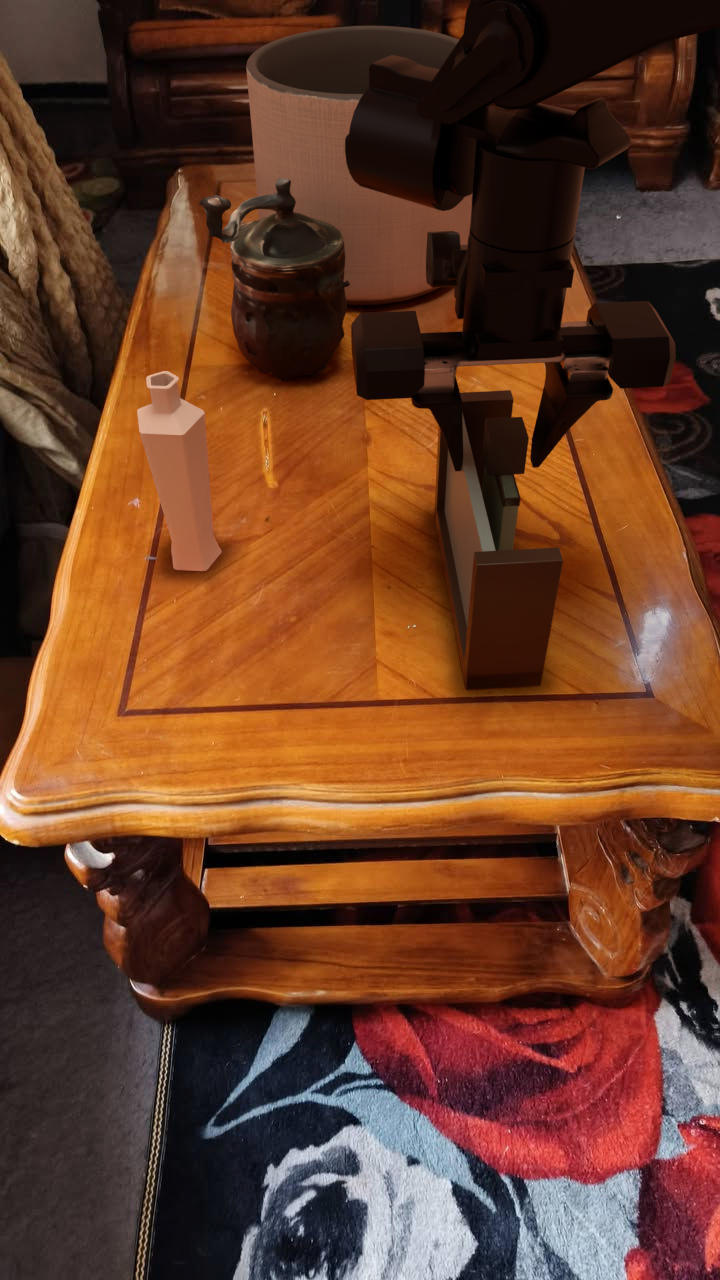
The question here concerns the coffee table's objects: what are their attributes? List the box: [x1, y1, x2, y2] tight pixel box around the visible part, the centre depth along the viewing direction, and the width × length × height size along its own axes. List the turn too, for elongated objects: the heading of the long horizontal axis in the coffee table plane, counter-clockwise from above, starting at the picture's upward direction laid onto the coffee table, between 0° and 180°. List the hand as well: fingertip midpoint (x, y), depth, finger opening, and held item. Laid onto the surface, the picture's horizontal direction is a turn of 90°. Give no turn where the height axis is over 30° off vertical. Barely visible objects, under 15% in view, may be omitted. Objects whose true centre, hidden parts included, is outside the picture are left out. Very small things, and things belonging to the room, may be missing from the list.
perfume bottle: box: [136, 370, 223, 572], centre depth 67 cm, size 5×4×15 cm
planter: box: [246, 25, 472, 306], centre depth 98 cm, size 23×23×20 cm
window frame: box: [433, 389, 564, 691], centre depth 65 cm, size 5×18×11 cm, turn 3°
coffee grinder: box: [198, 178, 350, 382], centre depth 84 cm, size 13×15×18 cm
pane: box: [482, 416, 530, 551], centre depth 65 cm, size 2×7×11 cm, turn 3°
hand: (495, 465), depth 64 cm, fingers open, 5 cm apart
